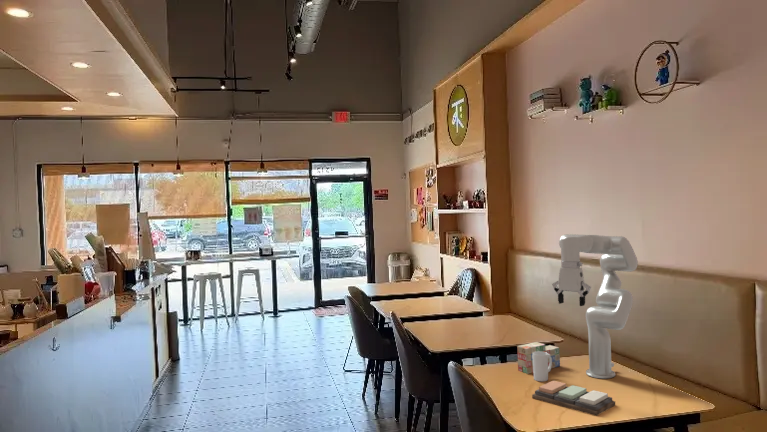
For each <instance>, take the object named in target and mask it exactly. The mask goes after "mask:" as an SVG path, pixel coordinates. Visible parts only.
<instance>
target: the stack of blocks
mask: <svg viewBox="0 0 767 432" xmlns="http://www.w3.org/2000/svg"><path fill="white" fill-rule="evenodd" d="M516 347H517V353H516V354H517V371H518V372H520V373H524V374H527V375H528V374H534V373H533V352H536V351H542V352H547V353H548V354H550V356H551V359H552V366H551V369H553V368H557V367H558V368H559V367H560V366H561V359H560V358H561V356H560V355H561V354H560V347H558V346H554V345H551V344H549V345H546V344H545V343H540V342H538V341H535V342H531V343H526V344H521V345H517V346H516ZM549 363H550V361H549V358H548V367H549Z"/></svg>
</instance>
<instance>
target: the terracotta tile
mask: <svg viewBox="0 0 767 432" xmlns="http://www.w3.org/2000/svg"><path fill="white" fill-rule="evenodd" d="M566 386H567V383H566V382H565V383H564V382H560V381H556V380H552V381H549V382H546V383H544V384H542V385H541V386H539V387H538V389H539V391H542V392H545V393H549V394H554V393H556V392H558V391H560V390H562V389H564V388H566Z"/></svg>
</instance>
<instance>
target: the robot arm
mask: <svg viewBox="0 0 767 432" xmlns="http://www.w3.org/2000/svg"><path fill="white" fill-rule="evenodd" d="M558 241H559V242H558V244H559V248H560V259H561V260H560V261H561V266H560V268H559V272H558V280H557V281H555V282H553V283H551V285H552V287H553V290H554V291H555V293H556V295H557V301H558V304H559V305H560V304H563V303H565V301H564V299H565V295H564V292H570V293H571V292H573V293H578V294H579V297H578V298H579V300H578V301H579V306H580V307H583V306H585V305H586V297H587V295H588V294H589V293H590V291H591V288H592V286H591V285H589V284H587V283H586V282H585V275H584V271H583V268H582V267H583V265H584V264H583V262H581V260H580V253H583V254H594V255H595V254H597V255H598V254H599V255H601V256H600V258H599V265H600V269H601V275H602V281H601V283H600V287H599V289H598V290H597V294H596V297H595V303H596V305H593V306H589V307H588V308H587V309H586V311H585V321H586V322H585V323H586V325H587V333H588V337H587V338H588V359H589V362H588V363H589V364H588V365H589V367H588V369H586V370H585V373H586V375H587V376H589V377H591V378H595V379H611V378H614V377H616V372H615V371H614V370H612V368H613V367H614V366H615V363H614V362H612V346H611V344H612V343H611V335H610V332H609V330H616V331H620V330H622V329H624V328H625V326H626V324H627V322H628V319H629V315H630V313H631V309H632V307H633V304H634V303H633V302H634V297H633V293H632V292H631V291H630V290H628V289H625V288H624V289H623V288H621V287H622V280H621V278H620V277H619V275H618V274H617V273H616V271H617V272H627V273H628V272H634V271H636V270H637V267H638V265H639V263H638V262H639V261H638V258H637V256H636V253H635V251H634V248H633V246H632V245H631V243H630V241H629V240H628V239H627V238H626V237H625V236H622V235H621V236H617V235H614V236H612V235H599V234H573V233H572V234H570V233H569V234H562V235H561V236H560V238H559V240H558Z"/></svg>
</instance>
